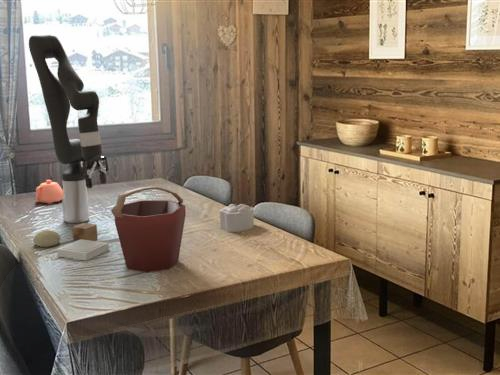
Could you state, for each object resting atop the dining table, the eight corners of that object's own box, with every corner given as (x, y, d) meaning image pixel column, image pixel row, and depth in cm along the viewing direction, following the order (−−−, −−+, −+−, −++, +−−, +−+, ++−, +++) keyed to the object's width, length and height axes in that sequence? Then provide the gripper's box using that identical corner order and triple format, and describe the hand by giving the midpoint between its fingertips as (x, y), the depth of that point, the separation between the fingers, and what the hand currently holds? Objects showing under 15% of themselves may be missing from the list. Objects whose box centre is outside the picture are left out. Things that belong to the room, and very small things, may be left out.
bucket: (119, 280, 183) (114, 199, 177) (105, 258, 203) (100, 185, 197) (197, 267, 192) (194, 190, 187) (176, 248, 212) (173, 177, 207)
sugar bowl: (69, 200, 285) (68, 179, 283) (45, 206, 273) (43, 184, 271) (52, 197, 291) (50, 176, 289) (27, 203, 280) (25, 182, 277)
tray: (57, 256, 205) (57, 248, 205) (81, 245, 216) (80, 238, 216) (86, 260, 201) (85, 252, 200) (108, 249, 211) (108, 242, 211)
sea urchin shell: (36, 245, 212) (32, 225, 215) (35, 256, 218) (31, 237, 221) (63, 241, 216) (58, 222, 219) (61, 251, 222) (57, 233, 225)
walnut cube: (73, 243, 220) (72, 227, 219) (84, 238, 225) (83, 222, 224) (87, 244, 218) (85, 228, 216) (97, 240, 223) (96, 224, 222)
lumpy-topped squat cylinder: (217, 227, 237) (216, 205, 236) (245, 221, 244) (244, 200, 242) (231, 233, 229) (230, 210, 227) (259, 227, 236) (259, 205, 234)
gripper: (94, 141, 238) (100, 182, 241) (70, 147, 226) (76, 189, 229) (110, 140, 235) (115, 182, 238) (86, 146, 223) (93, 189, 226)
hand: (96, 185), depth 234 cm, fingers open, 8 cm apart
